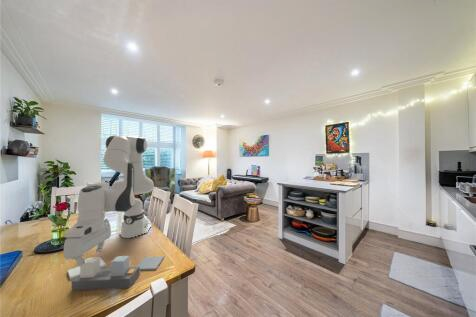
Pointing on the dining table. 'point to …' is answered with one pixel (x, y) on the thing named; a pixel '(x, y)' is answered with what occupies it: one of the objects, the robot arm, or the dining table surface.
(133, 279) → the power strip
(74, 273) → the external hard drive
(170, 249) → the dining table surface
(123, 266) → the block
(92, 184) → the small white stand
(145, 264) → the rubber mat
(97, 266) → the block
